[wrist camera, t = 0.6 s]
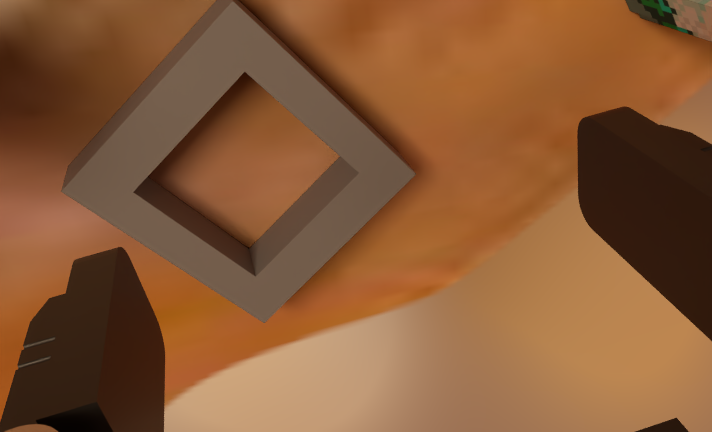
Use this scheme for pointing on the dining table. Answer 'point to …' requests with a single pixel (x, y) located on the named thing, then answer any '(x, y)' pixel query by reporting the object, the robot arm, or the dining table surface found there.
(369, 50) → the dining table surface
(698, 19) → the can
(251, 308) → the socket block
